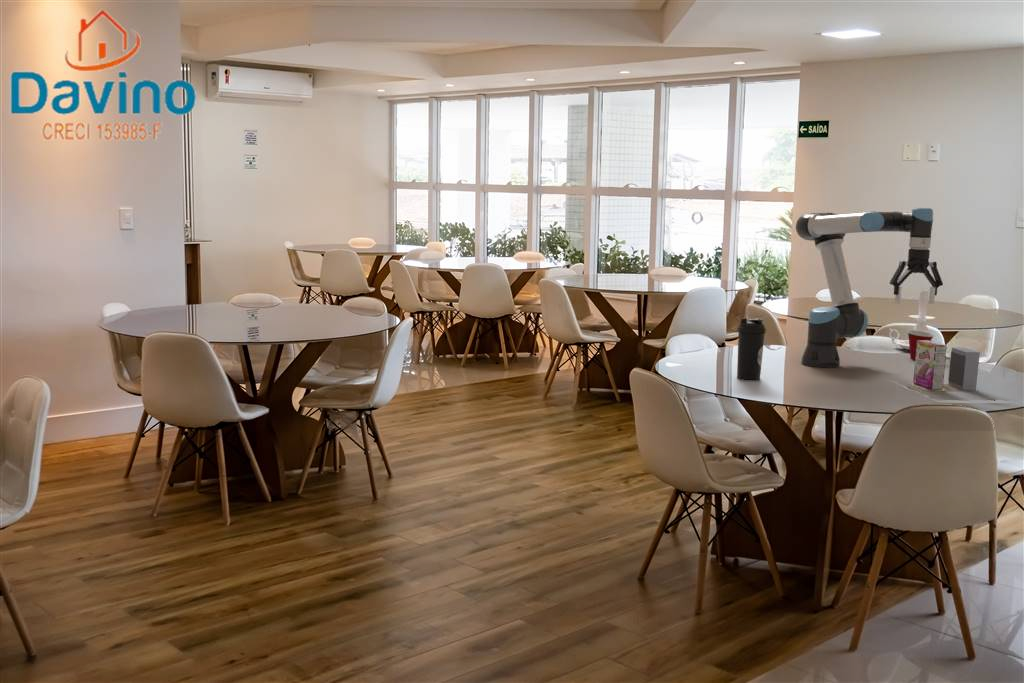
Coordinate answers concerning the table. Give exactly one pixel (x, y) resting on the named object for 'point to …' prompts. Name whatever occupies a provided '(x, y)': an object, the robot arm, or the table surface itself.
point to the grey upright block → (963, 368)
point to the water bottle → (750, 349)
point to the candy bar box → (930, 364)
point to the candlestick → (920, 319)
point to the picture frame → (945, 388)
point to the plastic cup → (916, 336)
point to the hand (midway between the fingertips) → (914, 303)
